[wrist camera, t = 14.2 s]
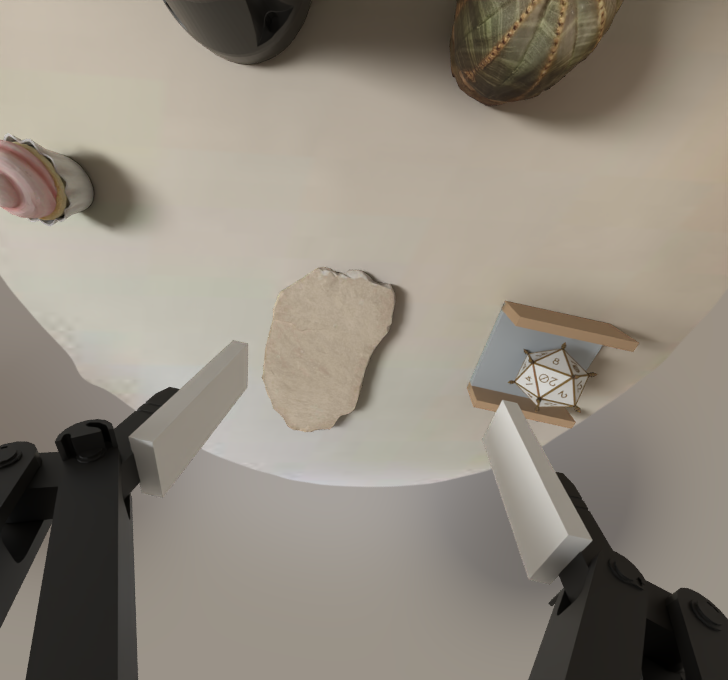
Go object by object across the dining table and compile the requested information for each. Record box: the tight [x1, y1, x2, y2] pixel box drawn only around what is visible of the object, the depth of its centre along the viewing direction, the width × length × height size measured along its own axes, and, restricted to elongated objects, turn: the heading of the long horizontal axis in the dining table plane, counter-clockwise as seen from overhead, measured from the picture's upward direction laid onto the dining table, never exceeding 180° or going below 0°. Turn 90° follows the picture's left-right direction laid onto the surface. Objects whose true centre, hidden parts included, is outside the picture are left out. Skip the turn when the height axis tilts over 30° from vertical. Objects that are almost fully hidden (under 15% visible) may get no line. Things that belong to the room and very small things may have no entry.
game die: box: [507, 342, 597, 413], centre depth 38 cm, size 9×8×10 cm
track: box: [467, 301, 639, 428], centre depth 40 cm, size 14×14×6 cm
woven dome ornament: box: [450, 0, 623, 106], centre depth 23 cm, size 11×11×12 cm
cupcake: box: [0, 133, 94, 226], centre depth 34 cm, size 9×9×10 cm
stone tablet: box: [262, 267, 396, 432], centre depth 46 cm, size 16×30×2 cm, turn 160°
